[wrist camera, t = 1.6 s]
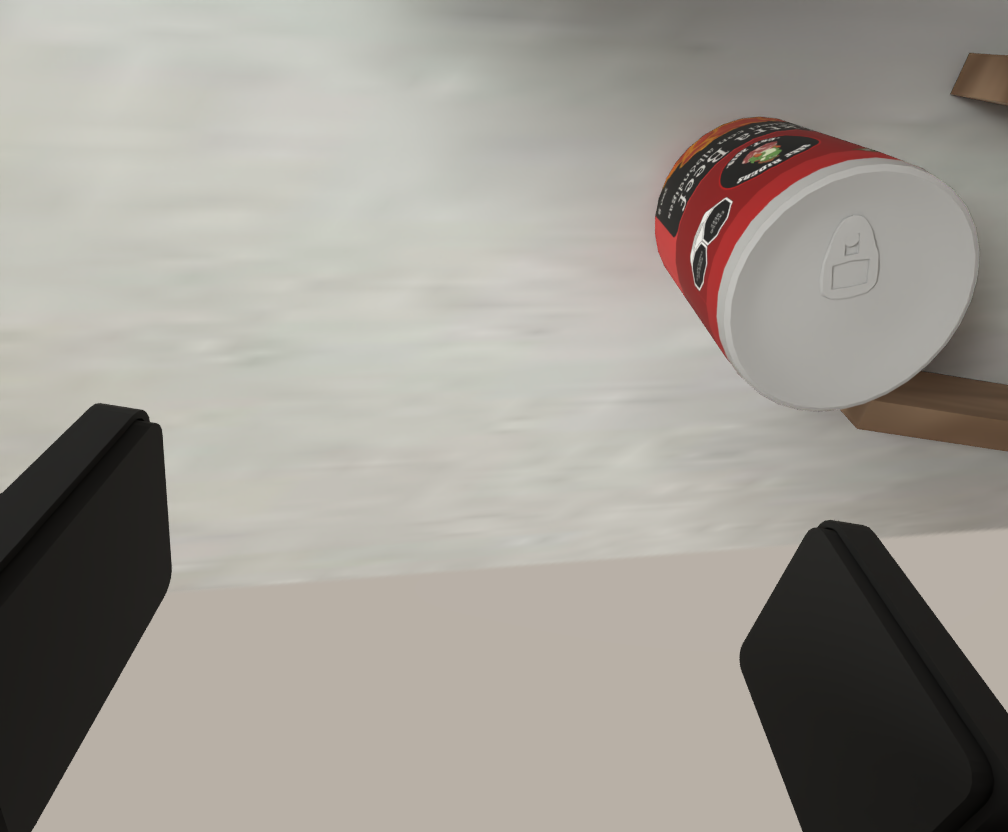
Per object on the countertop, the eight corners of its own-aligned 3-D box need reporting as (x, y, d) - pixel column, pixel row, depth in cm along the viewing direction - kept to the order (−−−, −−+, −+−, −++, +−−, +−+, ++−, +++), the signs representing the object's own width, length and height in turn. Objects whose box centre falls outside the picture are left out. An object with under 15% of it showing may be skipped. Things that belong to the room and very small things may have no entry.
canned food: (799, 78, 27) (965, 108, 17) (842, 251, 30) (998, 354, 21) (622, 168, 28) (686, 241, 19) (683, 322, 32) (762, 447, 23)
